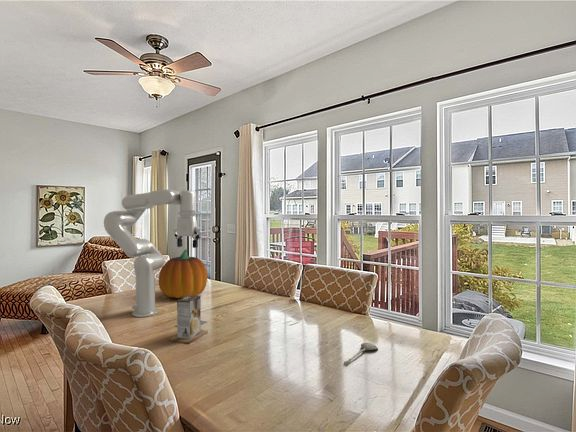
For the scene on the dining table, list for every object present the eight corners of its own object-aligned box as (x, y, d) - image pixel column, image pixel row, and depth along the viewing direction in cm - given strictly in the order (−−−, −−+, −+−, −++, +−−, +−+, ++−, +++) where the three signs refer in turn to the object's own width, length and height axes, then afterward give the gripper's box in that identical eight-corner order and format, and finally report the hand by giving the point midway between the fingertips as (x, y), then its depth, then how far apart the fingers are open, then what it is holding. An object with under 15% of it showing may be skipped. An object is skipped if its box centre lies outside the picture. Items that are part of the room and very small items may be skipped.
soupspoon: (381, 351, 126) (366, 347, 130) (380, 342, 126) (366, 338, 131) (353, 368, 110) (337, 363, 114) (353, 359, 110) (337, 354, 114)
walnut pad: (169, 340, 132) (169, 338, 132) (189, 329, 145) (189, 328, 145) (189, 344, 129) (189, 342, 129) (207, 332, 141) (207, 331, 141)
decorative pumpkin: (194, 288, 225) (194, 246, 225) (215, 296, 203) (215, 250, 203) (152, 295, 205) (152, 249, 204) (170, 305, 183) (170, 254, 183)
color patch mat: (174, 326, 149) (174, 325, 149) (189, 319, 159) (189, 318, 159) (193, 329, 145) (193, 329, 145) (207, 321, 155) (207, 321, 155)
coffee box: (188, 330, 142) (188, 294, 142) (200, 331, 141) (201, 295, 140) (176, 337, 133) (176, 300, 133) (190, 339, 132) (190, 301, 132)
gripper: (169, 214, 162) (168, 247, 162) (196, 214, 156) (196, 248, 156) (178, 214, 169) (178, 245, 169) (205, 214, 163) (205, 247, 163)
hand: (187, 247), depth 162 cm, fingers open, 9 cm apart
